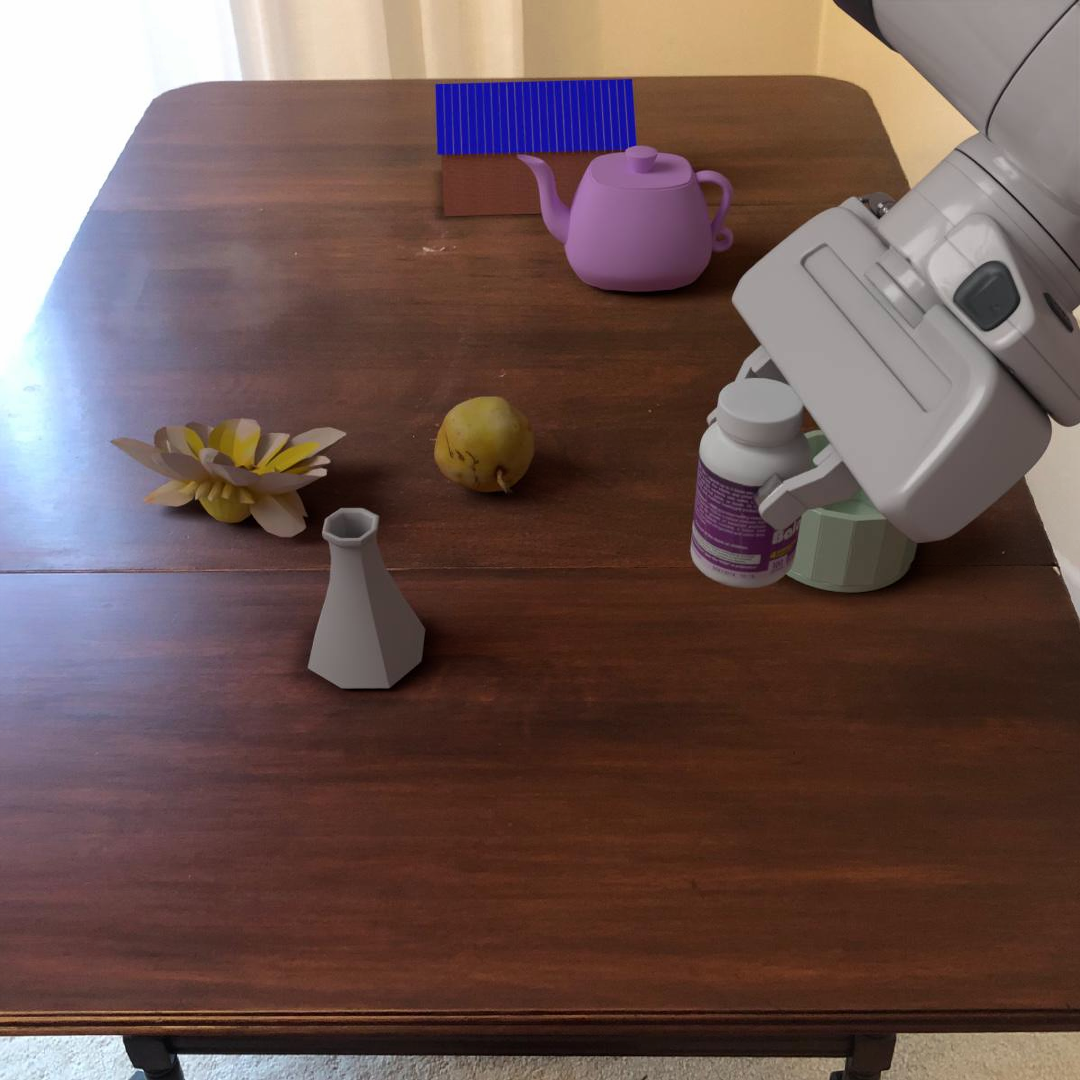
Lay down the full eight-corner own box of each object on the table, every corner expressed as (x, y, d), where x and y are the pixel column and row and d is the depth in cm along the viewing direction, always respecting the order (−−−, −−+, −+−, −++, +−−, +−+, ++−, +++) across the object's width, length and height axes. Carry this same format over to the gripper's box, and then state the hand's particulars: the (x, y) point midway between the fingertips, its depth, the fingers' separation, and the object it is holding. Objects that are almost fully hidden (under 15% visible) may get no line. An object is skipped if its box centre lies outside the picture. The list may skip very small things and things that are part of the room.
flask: (287, 678, 74) (262, 549, 68) (340, 602, 79) (322, 476, 73) (397, 705, 72) (382, 575, 66) (444, 626, 77) (434, 499, 71)
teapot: (723, 240, 121) (733, 122, 114) (737, 304, 111) (750, 178, 103) (521, 241, 121) (518, 123, 114) (517, 304, 111) (513, 179, 104)
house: (442, 172, 135) (436, 65, 128) (622, 167, 136) (626, 60, 129) (441, 217, 126) (434, 104, 119) (634, 212, 127) (638, 98, 119)
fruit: (558, 446, 83) (527, 370, 90) (459, 438, 81) (436, 361, 88) (534, 526, 87) (506, 447, 94) (439, 520, 84) (419, 440, 92)
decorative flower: (393, 456, 89) (354, 352, 81) (321, 574, 83) (272, 474, 75) (223, 426, 94) (172, 326, 87) (144, 535, 88) (81, 438, 80)
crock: (945, 564, 81) (964, 491, 78) (821, 611, 78) (834, 537, 74) (849, 484, 89) (862, 414, 85) (731, 524, 85) (739, 453, 81)
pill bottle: (790, 599, 60) (816, 437, 54) (683, 584, 61) (696, 423, 55) (797, 533, 64) (822, 375, 58) (697, 520, 65) (711, 363, 59)
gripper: (838, 140, 61) (640, 335, 66) (1054, 341, 45) (774, 578, 50) (905, 216, 64) (713, 396, 69) (1127, 427, 49) (860, 641, 53)
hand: (740, 475), depth 59 cm, fingers closed on pill bottle, 5 cm apart
